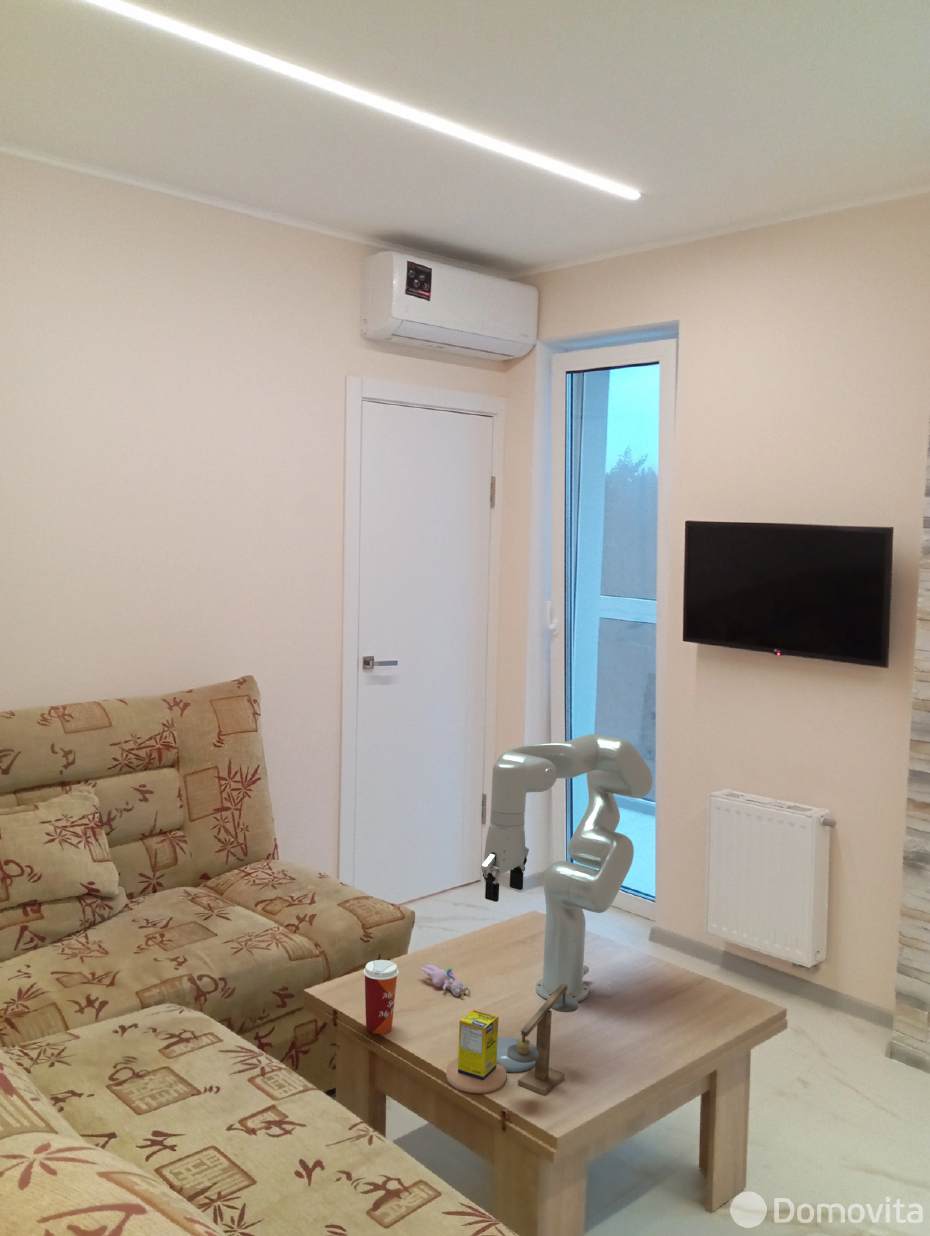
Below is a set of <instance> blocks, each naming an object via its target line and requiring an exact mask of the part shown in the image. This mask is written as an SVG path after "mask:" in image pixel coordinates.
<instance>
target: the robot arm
mask: <svg viewBox="0 0 930 1236" xmlns="http://www.w3.org/2000/svg"><path fill="white" fill-rule="evenodd" d="M584 774H586V781H587V782H586V783H587V790H588V791H587V793H588V804H587V808H586V810H585V812H584V815H582V818H581V820H580V822H579V824H578V825H577V827H576V829H575V830H574V832H573V834H572V836H571V838H570V841H569V843H568V847H567V852H568V855H569V858H571V860H573V861H574V862H576V863H574V862H572V861H566V860H558V861H554V862H552V863H550V864H549V865H548V866H547V868H546V869H545V872H544V874H543V884H542V885H543V891H544V892H543V893H544V897H545V898H544V899H545V926H544V927H545V930H544V931H545V933H544V947H543V966H542V967H543V970H542V971H543V972H542V978H541V979H539V980H538V981H536V984H535V991H536V993H537V994H538V995H539V996H540V997H541V998H543V999H545V1000H548V999H549V997H550V996H551V995H552V994H553V993H554V992H555V990H556V989H557V988H558V987H559V986H560V985H561V984H562V983H564V984H567V990H566V997H570V998H573V999H575V1000H576V1001H577V1002H578V1003H579V1002H580V1001H584V1000H585V999H586V998H588V996H589V990H590V989H589V987H588V985H587V984H585V982H584V981H583V979H584V977H585V976H586V974H588V973H589V971H590V969H589V967H588V966H587V965H585V964H584V960H585V957H584V956H585V945H586V944H585V941H586V916H585V913H584V910H586V911H588V912H592V913H595V914H603V913H604V912H606V911H608V909H609V908H610V907H611V906H612V904H613V903H614V900H615V899H616V897H617V895H618V893H619V892H620V890H621V887H622V886H623V883H624V881H625V879H626V877H627V875H628V873H629V871H630V869H631V866H632V864H633V860H634V854H635V849H634V844H633V841H632V840H631V839H630V838H629V837H628V836H627V835H625V834H623V833H619V832H616V830H617V828H618V826H619V823H620V820H621V814H620V810H619V809H620V808H619V806H618V804H617V801H616V798H615V796H614V795H617V796H621V797H626V798H631V799H643V798H644V797H647V796H648V795H649V793H650V792H651V791H652V787H653V780H654V778H653V775H652V771H651V768H650V767H649V765H648V764H647V762H646V761H645V760H644V758H643V757H642V756H641V754H640V752H639V751H638V750H637V749H636V748H635V747H634V745H633V744H632V743H630V742H629V741H628V740H627V739H624V738H621V737H614V736H609V735H603V734H596V733H592V734H591V733H590V734H586V735H583V736H579V737H577V738H573V739H569V740H567V741H563V742H552V743H542V744H541V743H540V744H529V745H528V744H527V745H521V746H517V747H514V748H511V749H508V750H506V751H504V752H502V754H500V755H499V757H498V758H497V760H496V761H495V763H494V764H493V766H492V776H491V777H492V779H491V801H490V821H489V822H490V823H489V825H488V828H487V834H486V838H485V839H486V840H485V848H484V855H483V863H482V864H481V865H480V868H481V869H480V870H481V873H482V877H483V881H484V882H485V885H484V887H485V888H484V890H485V891H484V899H485V900H487V901H492V902H494V903H495V902H496V903H497V902H499V899H500V883H499V880H500V878H501V875H502V874H505V873H507V872H509V887H510V888H512V889H515V890H518V891H522V890H523V889H524V873H525V871H526V867H525V866H526V863H527V861H528V855H529V851H530V849H529V848H528V847H526V829H525V828H526V827H525V824H526V822H525V821H526V803H527V794H528V793H542V792H546V791H548V790H550V789H551V788H552V787H553V786H554V785H555V783H556V781H557V780H558V779H573V778H576V777H579V776H581V775H584ZM578 863H579V864H578ZM493 873H495V875H493ZM562 996H563V995H562Z"/></svg>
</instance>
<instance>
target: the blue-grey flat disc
mask: <svg viewBox="0 0 930 1236" xmlns="http://www.w3.org/2000/svg"><path fill="white" fill-rule="evenodd" d="M519 1039H520V1038H518V1037H505V1036H504V1037H498V1043H497V1062H499V1063H500V1064H501V1065H503V1066H504V1068H505V1069H506V1073H522V1072H527V1071H530V1070H531V1069H533V1068H534V1067H535V1061H533V1062H529V1063H521V1062H516V1061H514V1060H512V1059H510V1058H509V1057H508V1055H507V1051H508V1048H509V1047H510V1046H512V1045H515V1044H517V1041H518V1040H519ZM530 1045H531V1046H533V1047H535V1048H536V1045H534V1044H533V1043H531V1042H530ZM497 1064H498V1063H497Z"/></svg>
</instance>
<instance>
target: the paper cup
mask: <svg viewBox="0 0 930 1236" xmlns="http://www.w3.org/2000/svg"><path fill="white" fill-rule="evenodd" d="M362 973H363V975H364V992H365V993H364V994H365V995H364V998H365V999H364V1001H365V1002H364V1003H365V1026H366V1027H365V1028H366V1031H367V1032H369V1033H370V1034H375V1035H385V1034H387V1033H390V1031H391V1030H392V1027H393V1021H394V1020H393V1019H394V1009H395V999H396V989H397V981H398V979H397V978H398V975H399V969H398V965H397V964H396V963H395V962H393V961H391V960H386V959H377V960H376V959H375V960H371V961H369V962H367V963H366V964H365V968H364V969H363V972H362Z"/></svg>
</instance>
